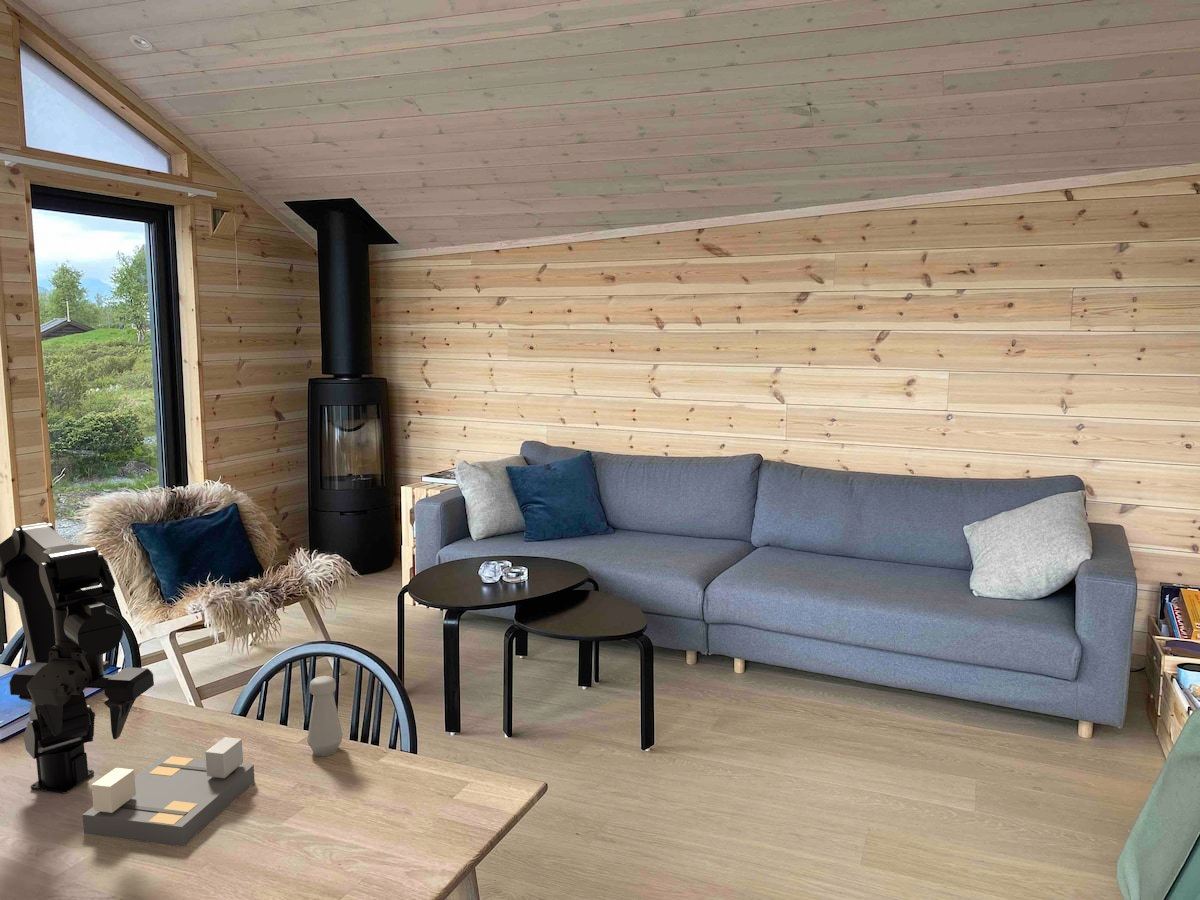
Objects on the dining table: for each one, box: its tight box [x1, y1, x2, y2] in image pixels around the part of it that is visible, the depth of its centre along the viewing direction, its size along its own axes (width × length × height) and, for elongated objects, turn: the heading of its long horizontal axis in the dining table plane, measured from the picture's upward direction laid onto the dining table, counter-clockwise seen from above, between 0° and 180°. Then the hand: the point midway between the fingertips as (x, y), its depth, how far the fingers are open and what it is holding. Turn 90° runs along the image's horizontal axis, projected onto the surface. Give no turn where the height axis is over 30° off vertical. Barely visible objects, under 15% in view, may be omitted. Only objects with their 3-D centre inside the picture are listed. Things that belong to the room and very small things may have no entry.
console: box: [82, 754, 256, 847], centre depth 139 cm, size 16×18×3 cm
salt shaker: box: [307, 675, 343, 757], centre depth 156 cm, size 6×6×13 cm
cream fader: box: [91, 767, 136, 813], centre depth 134 cm, size 3×5×4 cm, turn 169°
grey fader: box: [205, 736, 244, 778], centre depth 144 cm, size 3×5×4 cm, turn 169°
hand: (86, 736), depth 135 cm, fingers open, 9 cm apart
